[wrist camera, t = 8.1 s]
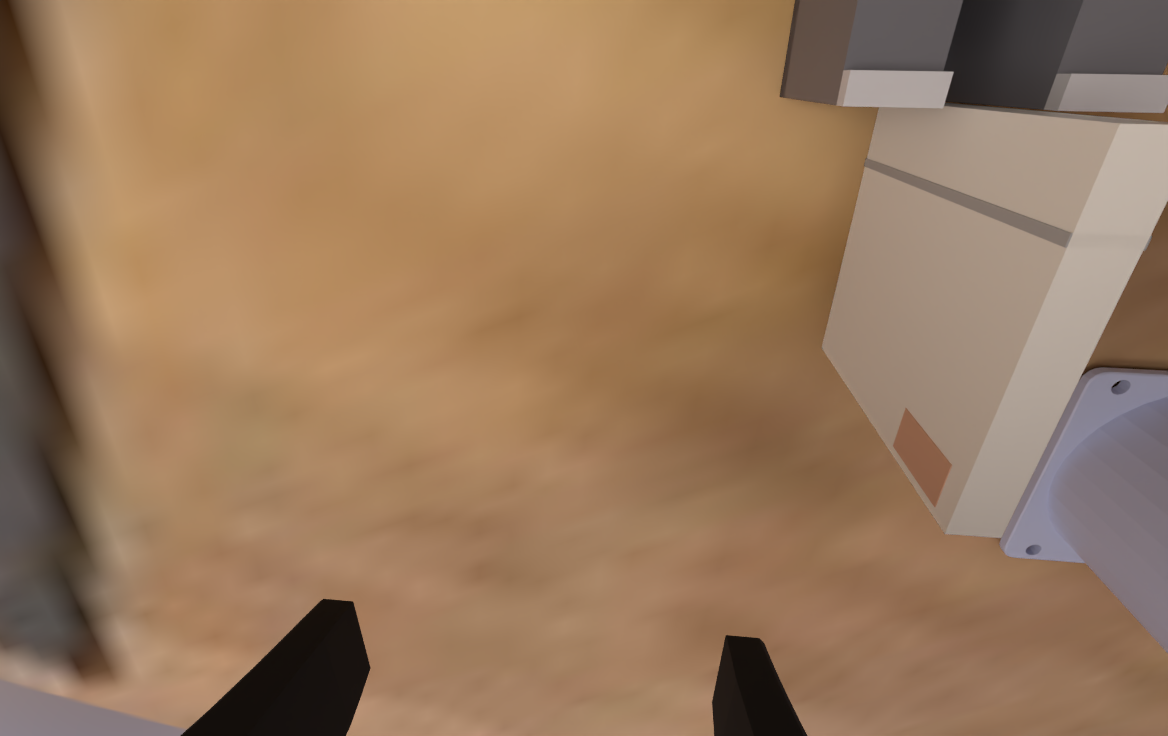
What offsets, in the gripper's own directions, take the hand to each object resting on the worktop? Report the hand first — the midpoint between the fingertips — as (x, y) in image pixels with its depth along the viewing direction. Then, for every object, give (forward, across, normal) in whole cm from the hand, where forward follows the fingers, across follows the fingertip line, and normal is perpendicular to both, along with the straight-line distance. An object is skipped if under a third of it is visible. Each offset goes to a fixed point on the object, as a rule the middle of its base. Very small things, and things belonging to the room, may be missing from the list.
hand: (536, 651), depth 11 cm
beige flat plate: (+9, -8, -6) cm, 14 cm away
